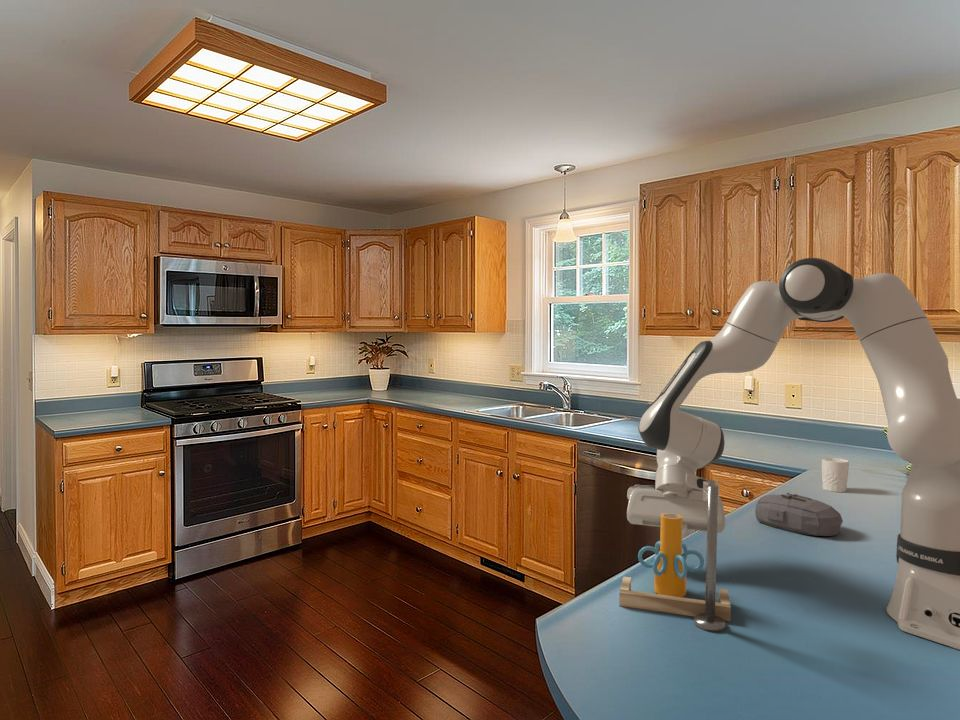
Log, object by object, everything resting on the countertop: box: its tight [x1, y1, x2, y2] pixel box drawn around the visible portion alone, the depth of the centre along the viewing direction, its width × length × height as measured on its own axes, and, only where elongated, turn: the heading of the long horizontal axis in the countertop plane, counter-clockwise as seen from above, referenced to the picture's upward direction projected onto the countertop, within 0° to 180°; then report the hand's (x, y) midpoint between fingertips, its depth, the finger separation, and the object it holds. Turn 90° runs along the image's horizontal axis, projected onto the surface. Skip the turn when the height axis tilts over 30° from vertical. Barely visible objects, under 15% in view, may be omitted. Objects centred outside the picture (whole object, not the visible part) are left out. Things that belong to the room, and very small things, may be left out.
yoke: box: [618, 576, 732, 622], centre depth 114 cm, size 8×19×2 cm, turn 72°
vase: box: [637, 513, 705, 598], centre depth 119 cm, size 12×10×15 cm
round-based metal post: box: [693, 479, 726, 633], centre depth 108 cm, size 11×5×24 cm, turn 162°
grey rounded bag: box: [754, 492, 843, 537], centre depth 162 cm, size 15×8×20 cm
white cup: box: [821, 457, 850, 493], centre depth 203 cm, size 8×8×10 cm
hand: (674, 545), depth 129 cm, fingers closed
